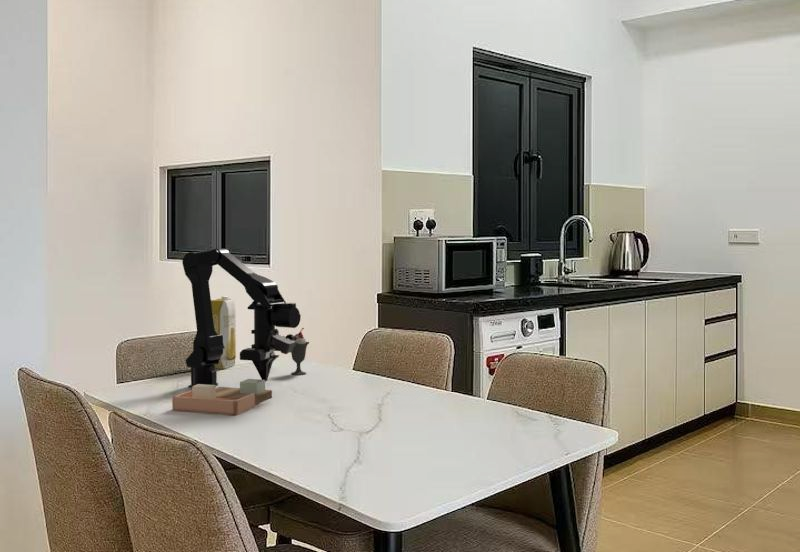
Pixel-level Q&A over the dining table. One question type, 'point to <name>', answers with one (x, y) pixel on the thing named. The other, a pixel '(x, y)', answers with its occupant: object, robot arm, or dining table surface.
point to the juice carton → (225, 329)
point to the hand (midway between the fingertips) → (264, 381)
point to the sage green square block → (252, 386)
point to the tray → (212, 404)
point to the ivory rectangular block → (204, 391)
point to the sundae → (299, 352)
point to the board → (241, 394)
